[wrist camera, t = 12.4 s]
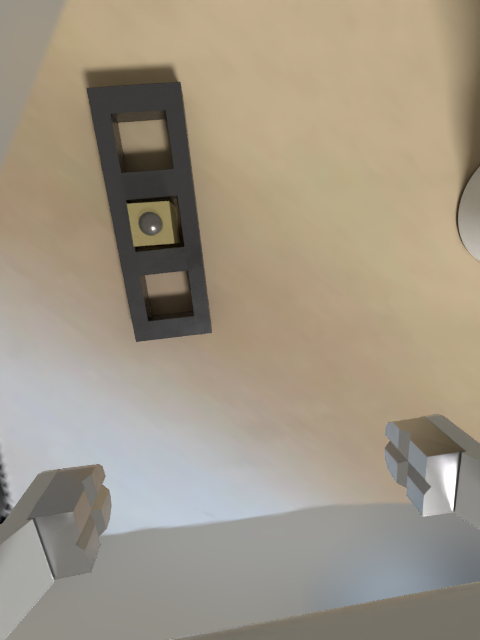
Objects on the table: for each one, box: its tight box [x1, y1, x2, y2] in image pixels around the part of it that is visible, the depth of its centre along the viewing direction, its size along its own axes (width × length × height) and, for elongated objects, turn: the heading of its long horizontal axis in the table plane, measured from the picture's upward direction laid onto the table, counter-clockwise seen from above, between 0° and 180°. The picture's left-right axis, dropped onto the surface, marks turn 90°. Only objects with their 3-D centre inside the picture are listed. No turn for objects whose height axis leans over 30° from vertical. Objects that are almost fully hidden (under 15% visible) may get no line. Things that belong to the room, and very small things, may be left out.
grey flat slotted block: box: [87, 82, 212, 342], centre depth 35 cm, size 9×26×2 cm, turn 6°
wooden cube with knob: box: [127, 201, 180, 247], centre depth 33 cm, size 4×4×6 cm
